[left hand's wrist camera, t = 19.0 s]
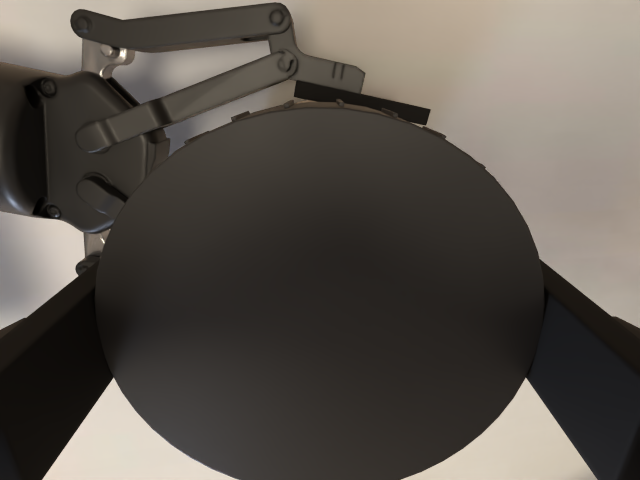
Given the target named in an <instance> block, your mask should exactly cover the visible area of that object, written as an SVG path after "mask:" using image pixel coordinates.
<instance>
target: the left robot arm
mask: <svg viewBox="0 0 640 480" xmlns="http://www.w3.org/2000/svg"><path fill="white" fill-rule="evenodd" d="M539 260H540V259H539ZM99 262H100V259H99V260H98V261H97V262H96V263H94V264H93V265H92V266H91V267H89V268H88V269H87V270H86V271H84V272H83V273H82V274H81V275H79V276H78V277H77V278H76V279H74V280H73V281H72V282H71V283H69V284H68V285H67V286H66V287H64V288H63V289H62V290H61V291H59V292H58V293H57V294H56V295H54V296H53V297H52V298H51V299H49V300H48V301H47V302H46V303H44V304H43V305H42V306H41V307H39V308H38V309H37V310H36V311H34V312H33V313H32V314H31V315H29V316H28V317H27V318H23V319H21V320H19V321H17V322H15V323H13V324H11V325H9V326H7V327H5V328H3V329H1V330H0V480H42V479H43V477H44V476H45V475H46V473H47V472H48V470H49V469H50V467H51V466H52V465H53V463H54V462H55V460H56V459H57V457H58V456H59V455H60V453H61V452H62V450H63V449H64V447H65V446H66V445H67V443H68V442H69V440H70V439H71V438H72V436H73V435H74V433H75V432H76V430H77V429H78V428H79V426H80V425H81V423H82V422H83V420H84V419H85V418H86V416H87V415H88V413H89V412H90V410H91V409H92V408H93V406H94V405H95V403H96V402H97V400H98V399H99V398H100V396H101V395H102V393H103V392H104V390H105V389H106V388H107V386H108V385H109V383H110V382H111V380H112V379H113V378H114V377H113V375H112V373H111V371H110V369H109V366H108V363H107V361H106V358H105V355H104V351H103V348H102V343H101V339H100V335H99V331H98V327H97V322H96V313H95V287H96V276H97V269H98V266H99ZM540 265H541V269H542V274H543V279H544V300H545V307H544V316H543V324H542V329H541V333H540V337H539V341H538V345H537V349H536V353H535V357H534V359H533V362H532V364H531V366H530V369H529V371H528V373H527V376H526V378H527V379H528V381H529V382H530V384H531V385H532V387H533V388H534V389H535V391H536V392H537V394H538V395H539V397H540V398H541V399H542V401H543V402H544V404H545V405H546V407H547V408H548V409H549V411H550V412H551V414H552V415H553V417H554V418H555V419H556V421H557V422H558V424H559V425H560V427H561V428H562V429H563V431H564V432H565V434H566V435H567V437H568V438H569V439H570V441H571V442H572V444H573V445H574V447H575V448H576V449H577V451H578V452H579V454H580V455H581V457H582V458H583V459H584V461H585V462H586V464H587V465H588V467H589V468H590V469H591V471H592V472H593V474H594V475H595V477H596V478H597V479H598V480H640V328H638V327H636V326H634V325H632V324H630V323H628V322H626V321H624V320H622V319H620V318H618V317H611V316H610V315H609V314H608V313H606V312H605V311H604V310H603V309H601V308H600V307H599V306H598V305H596V304H595V303H594V302H593V301H591V300H590V299H589V298H588V297H586V296H585V295H584V294H583V293H581V292H580V291H579V290H578V289H576V288H575V287H574V286H573V285H571V284H570V283H569V282H568V281H566V280H565V279H564V278H563V277H561V276H560V275H559V274H558V273H556V272H555V271H554V270H553V269H551V268H550V267H549V266H548V265H546V264H545V263H544V262H543V261H541V260H540Z"/></svg>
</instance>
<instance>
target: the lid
mask: <svg viewBox="0 0 640 480" xmlns="http://www.w3.org/2000/svg"><path fill="white" fill-rule="evenodd" d="M231 120H232V122H230V123H228V124H225V125H223V126H221V127H218V128H216V129H214V130H212V131H207V132H205V133H202V134H200V135H198V136H195V137H193V138H191V139H188V140H187V141H185V142H184V143H185V144H186V145H185V146H183V147H181V148H180V149H178V150H177V151H175V152H174V153H173V154H172V155H170V156H169V157H168V158H167V159H166V160H164V161H163V162H162V163H161V164H160V165H158V166H157V167H156V168H155V169H153V170H152V171H150V172H149V173H148V174H147V175H148V176H147V177H146V178H145V179H144V180H143V181H142V182H141V183H140V185H139V186H138V187H137V188H136V189H135V190H134V191H133V192H132V194H131V195H130V196H129V198H128V200H127V201H126V203H125V204H124V206H123V207H122V209H121V211H120V212H119V214H118V215H117V217H116V218H115V220H114V222H113V225H112V227H111V229H110V232H109V234H108V236H107V239H106V241H105V243H104V246H103V250H102V254H101V258H100V262H99V266H98V269H97V276H96V287H95V313H96V322H97V327H98V331H99V335H100V339H101V343H102V348H103V351H104V355H105V358H106V361H107V363H108V366H109V369H110V371H111V373H112V375H113V377H114V378H115V380H116V382H117V384H118V386H119V388H120V389H121V391H122V393H123V394H124V396H125V397H126V398H127V400H128V401H129V402H130V404H131V405H132V406H133V408H134V409H135V411H136V412H137V413H138V414H139V415H140V416H141V417H142V418H143V419H144V420H145V421H146V423H147V424H148V425H149V426H150V427H151V428H152V429H153V430H154V431H155V432H157V433H158V434H159V435H160V436H161V437H163V438H164V439H165V440H166V441H167V442H169V443H170V444H171V445H172V446H174V447H175V448H177V449H178V450H180V451H181V452H183V453H184V454H186V455H187V456H189V457H190V458H192V459H194V460H196V461H198V462H200V463H201V464H203V465H205V466H207V467H209V468H211V469H213V470H215V471H218V472H220V473H223V474H225V475H228V476H230V477H233V478H235V479H239V480H401V479H404V478H406V477H409V476H412V475H414V474H417V473H419V472H422V471H424V470H426V469H428V468H430V467H432V466H434V465H436V464H438V463H440V462H442V461H444V460H445V459H447V458H449V457H450V456H452V455H453V454H455V453H457V452H458V451H460V450H461V449H463V448H464V447H465V446H467V445H468V444H469V443H471V442H472V441H473V440H474V439H476V438H477V437H478V436H479V435H481V434H482V433H483V432H484V431H485V430H486V429H487V428H488V427H489V426H490V425H491V424H492V423H493V422H494V421H495V420H496V419H497V418H498V417H499V416H500V414H501V413H502V412H503V411H504V409H505V408H506V407H507V406H508V404H509V403H510V402H511V400H512V399H513V398H514V396H515V395H516V393H517V391H518V390H519V388H520V386H521V385H522V383H523V381H524V379H525V378H526V376H527V373H528V371H529V369H530V366H531V364H532V362H533V359H534V357H535V353H536V349H537V345H538V341H539V337H540V333H541V329H542V324H543V316H544V307H545V300H544V279H543V274H542V269H541V265H540V260H539V255H538V251H537V249H536V246H535V243H534V241H533V238H532V235H531V233H530V230H529V228H528V225H527V224H526V222H525V220H524V219H523V217H522V215H521V213H520V212H519V210H518V208H517V206H516V205H515V203H514V201H513V200H512V199H511V198H510V196H509V195H508V194H507V193H506V191H505V190H504V189H503V188H502V186H501V185H500V184H499V183H498V182H497V180H496V179H495V178H494V177H493V176H492V175H491V174H490V173H489V172H488V171H486V170H485V168H486V167H485V166H484V165H482V164H480V163H478V162H476V161H475V160H474V159H473V158H472V157H471V156H470V155H468V154H467V153H465V152H463V151H462V150H460V149H459V148H457V147H456V146H454V145H453V144H451V143H450V142H448V141H447V140H445V138H446V136H445V135H443V134H441V133H439V132H436V131H434V130H431V129H429V128H427V127H424V126H423V128H421V127H419V126H417V125H414V124H412V123H410V122H408V121H405V120H403V119H401V118H398V114H397V113H394V112H392V111H389V110H387V109H384V108H382V109H381V111H378V110H375V109H371V108H368V107H364V106H357V105H351V104H345V103H344V102H343V101H342V100H340V99H336V102H304V103H296V104H294V100H290V101H288V102H287V103H285V104H284V105H280V106H276V107H273V108H269V109H265V110H261V111H257V112H254V113H251V114H250V113H249V111H247V112H244V113H242V114H239V115H236V116H234V117H231Z"/></svg>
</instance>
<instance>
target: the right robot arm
mask: <svg viewBox="0 0 640 480" xmlns="http://www.w3.org/2000/svg"><path fill="white" fill-rule="evenodd" d="M70 22H71V27H72V29H73V31H74V33H75V34H76V35H77V36H79V37H81V38H83V43H82V71H80V72H76V73H74V74H71V75H67V76H65V75H60V74H55V73H51V72H46V71H41V70H37V69H32V68H27V67H22V66H18V65H13V64H8V63H4V62H0V211H3V212H8V213H14V214H19V215H24V216H30V217H36V218H46V219H58V220H62V221H65V222H67V223H69V224H71V225H72V226H74V227H75V228H77V229H78V230H80V231H82V232H84V246H85V258H84V259H83V260H81V261H80V262H79V263H78V264H77V265H76V273H77V274H78V275H81V274H82V273H83V272H84V271H86V270H87V269H88V268H89V267H91V266H92V265H93V264H94V263H96V262H97V261H98V260H99V259H100V258H101V254H102V250H103V246H104V243H105V241H106V239H107V236H108V234H109V232H110V229H111V227H112V225H113V222H114V220H115V218H116V217H117V215H118V214H119V212H120V211H121V209H122V207H123V206H124V204H125V203H126V201H127V200H128V198H129V196H130V195H131V194H132V192H133V191H134V190H135V189H136V188H137V187H138V186H139V185H140V183H141V182H142V181H143V180H144V179H145V178H146V177H147V176H148V175H147V174H148V173H149V172H150V171H152V170H153V169H155V168H156V167H157V166H158V165H160V164H161V163H162V162H163V161H164V160H166V159H167V157H168V154H169V148H170V139H169V138H166V134H165V132H164V130H163V128H165V127H168V126H170V125H173V124H176V123H178V122H181V121H183V120H185V119H188V118H190V117H193V116H195V115H198V114H201V113H203V112H206V111H208V110H211V109H214V108H216V107H219V106H221V105H224V104H226V103H229V102H232V101H234V100H237V99H239V98H242V97H245V96H247V95H250V94H252V93H255V92H258V91H260V90H263V89H265V88H268V87H271V86H273V85H276V84H278V83H281V82H284V81H286V80H289V79H290V80H295V81H296V87H295V92H294V97H297V98H302V99H306V100H311V101H316V102H336V99H340V100H342V101H343V102H344V103H345V104H351V105H357V106H364V107H368V108H371V109H375V110H378V111H381V109H382V108H384V109H387V110H389V111H392V112H394V113H397V114H398V118H401V119H403V120H405V121H408V122H412V123H417V124H421V125H426V124H427V120H428V117H429V113H430V110H431V109H426V108H422V107H418V106H413V105H409V104H404V103H400V102H395V101H391V100H386V99H381V98H377V97H372V96H368V95H363V94H361V90H362V86H363V81H364V77H365V73H364V72H363V71H362V70H360V69H359V68H358V67H356V66H352V65H348V64H343V63H339V62H335V61H330V60H326V59H321V58H317V57H312V56H308V55H305V54H303V53H302V52H301V51H300V50H299V49H298V47H297V44H296V38H295V32H294V23H293V20H292V17H291V15H290V12H289V10H288V9H287V8H286V6H285V5H283V4H281V3H276V2H274V3H266V4H257V5H249V6H240V7H231V8H223V9H214V10H205V11H197V12H188V13H180V14H171V15H162V16H154V17H145V18H137V19H128V20H121V19H117V18H113V17H110V16H106V15H102V14H99V13H95V12H92V11H88V10H84V9H79V10H76V11H74V13H73V14H72V15H71V20H70ZM266 40H269V46H270V52H271V54H270V55H267V56H265V57H262V58H260V59H257V60H255V61H252V62H250V63H247V64H245V65H242V66H240V67H237V68H235V69H232V70H230V71H227V72H225V73H222V74H220V75H217V76H214V77H212V78H209V79H207V80H204V81H202V82H199V83H197V84H194V85H192V86H189V87H187V88H184V89H182V90H179V91H177V92H174V93H172V94H169V95H167V96H164V97H161V98H159V99H155V100H152V101H149V102H146V103H143V104H141V105H140V104H139V103H138V102H137V101H136V100H135V99H134V98H133V97H132V96H131V95H130V94H129V93H128V92H127V91H126V90H125V89H124V88H123V87H122V86H121V85H120V84H119V83H118V82H117V81H116V80H115V79H114V78H112V77H111V75H112V71H113V70H114V68H116V67H117V66H121V65H129V64H131V63H132V62H133V60H134V57H135V51H139V52H148V53H158V52H168V51H177V50H186V49H195V48H204V47H213V46H221V45H230V44H239V43H248V42H257V41H266Z"/></svg>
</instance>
